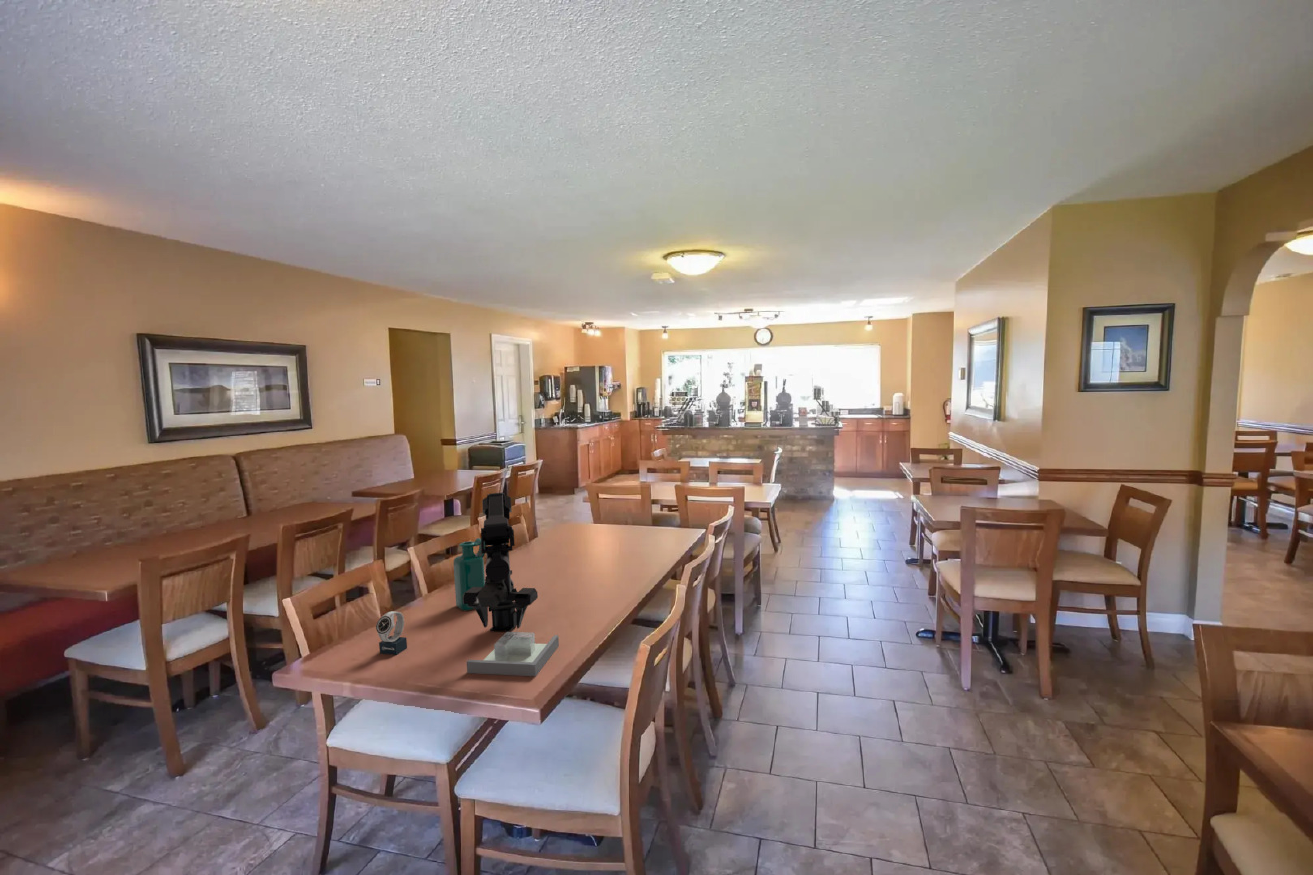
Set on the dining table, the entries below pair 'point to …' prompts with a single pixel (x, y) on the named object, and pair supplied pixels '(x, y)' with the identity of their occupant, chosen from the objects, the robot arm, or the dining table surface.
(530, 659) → the mat
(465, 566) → the green bottle
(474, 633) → the dining table surface
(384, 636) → the watch
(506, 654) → the bracket
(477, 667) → the corner walls
